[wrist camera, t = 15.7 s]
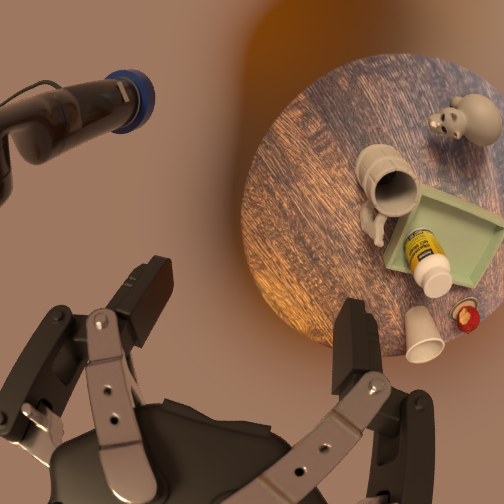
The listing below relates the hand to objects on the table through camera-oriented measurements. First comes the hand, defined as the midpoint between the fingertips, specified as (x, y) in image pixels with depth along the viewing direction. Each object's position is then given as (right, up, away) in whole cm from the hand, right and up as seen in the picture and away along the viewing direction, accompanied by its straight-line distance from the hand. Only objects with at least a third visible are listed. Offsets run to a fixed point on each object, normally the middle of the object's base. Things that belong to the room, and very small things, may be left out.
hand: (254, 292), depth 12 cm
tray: (+34, +5, +26) cm, 43 cm away
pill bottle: (+28, +4, +28) cm, 39 cm away
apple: (+47, -11, +34) cm, 59 cm away
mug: (+18, +13, +25) cm, 33 cm away
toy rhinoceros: (+29, +22, +15) cm, 39 cm away
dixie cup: (+35, -11, +38) cm, 53 cm away
